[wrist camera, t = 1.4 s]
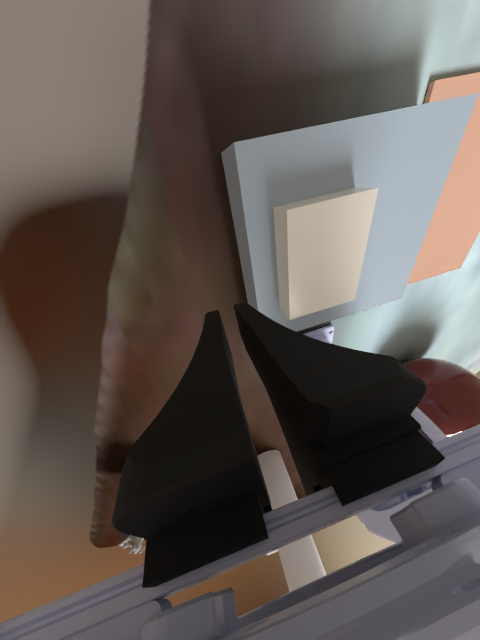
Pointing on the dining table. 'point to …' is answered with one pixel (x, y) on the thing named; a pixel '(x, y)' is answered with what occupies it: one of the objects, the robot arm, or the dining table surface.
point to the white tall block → (302, 553)
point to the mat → (454, 190)
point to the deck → (341, 174)
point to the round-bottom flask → (448, 394)
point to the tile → (321, 249)
